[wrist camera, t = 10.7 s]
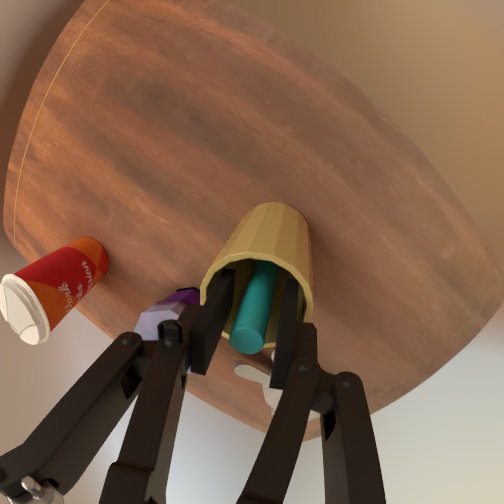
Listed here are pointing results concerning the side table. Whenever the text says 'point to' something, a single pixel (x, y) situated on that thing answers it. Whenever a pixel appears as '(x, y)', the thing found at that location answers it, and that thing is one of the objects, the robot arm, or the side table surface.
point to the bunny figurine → (264, 384)
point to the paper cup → (51, 288)
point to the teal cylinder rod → (255, 309)
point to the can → (271, 249)
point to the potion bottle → (166, 313)
